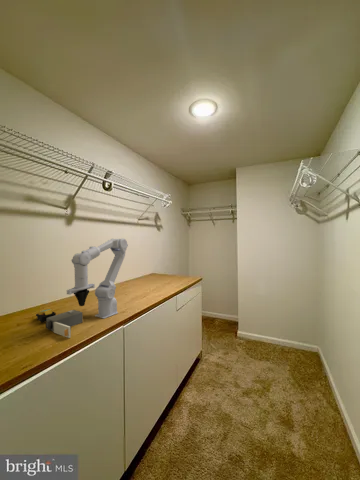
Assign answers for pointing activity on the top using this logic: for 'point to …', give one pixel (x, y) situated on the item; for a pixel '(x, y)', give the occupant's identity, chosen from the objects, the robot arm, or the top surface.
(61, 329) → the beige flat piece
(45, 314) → the gadget
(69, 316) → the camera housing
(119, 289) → the top surface
